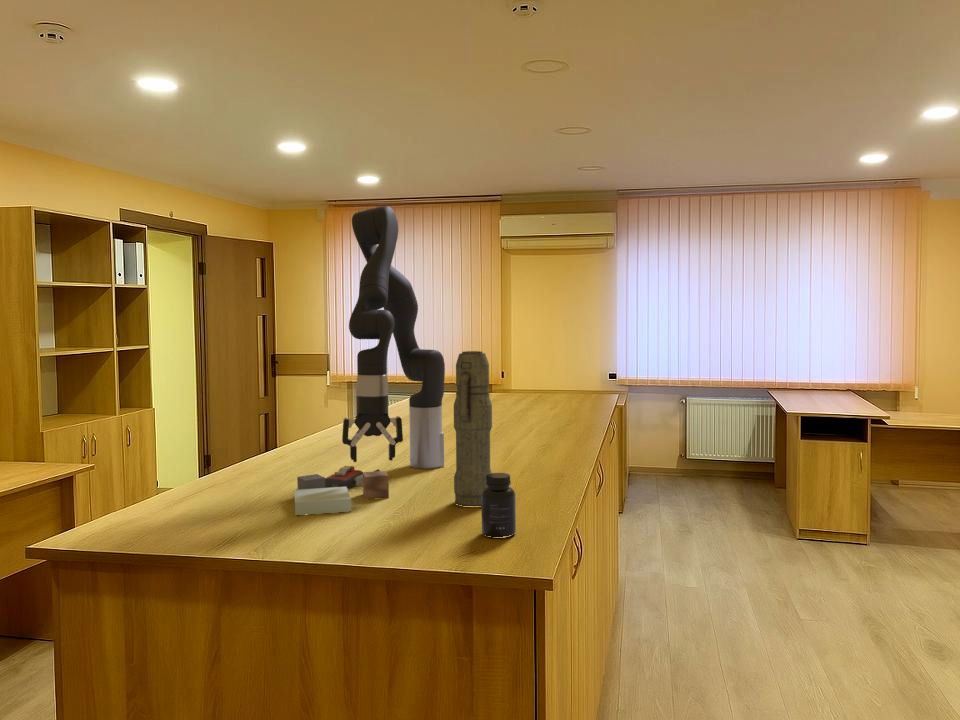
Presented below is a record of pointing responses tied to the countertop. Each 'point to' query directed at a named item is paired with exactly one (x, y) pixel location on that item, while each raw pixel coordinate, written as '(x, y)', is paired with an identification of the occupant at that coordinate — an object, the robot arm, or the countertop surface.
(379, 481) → the walnut cube
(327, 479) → the walkie-talkie
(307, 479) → the charcoal block
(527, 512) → the countertop surface
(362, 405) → the robot arm
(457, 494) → the thermos
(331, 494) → the pedestal
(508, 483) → the supplement bottle
